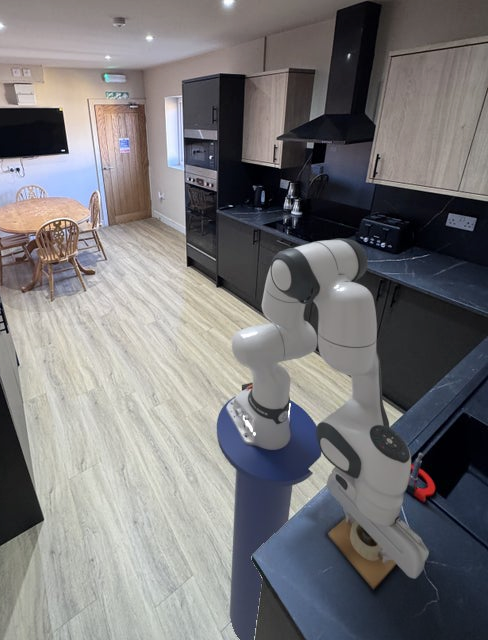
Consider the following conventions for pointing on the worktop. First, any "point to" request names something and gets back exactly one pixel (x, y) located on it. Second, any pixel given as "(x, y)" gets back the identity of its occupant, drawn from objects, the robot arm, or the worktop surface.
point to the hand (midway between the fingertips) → (365, 539)
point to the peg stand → (367, 568)
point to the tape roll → (363, 544)
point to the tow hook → (413, 479)
